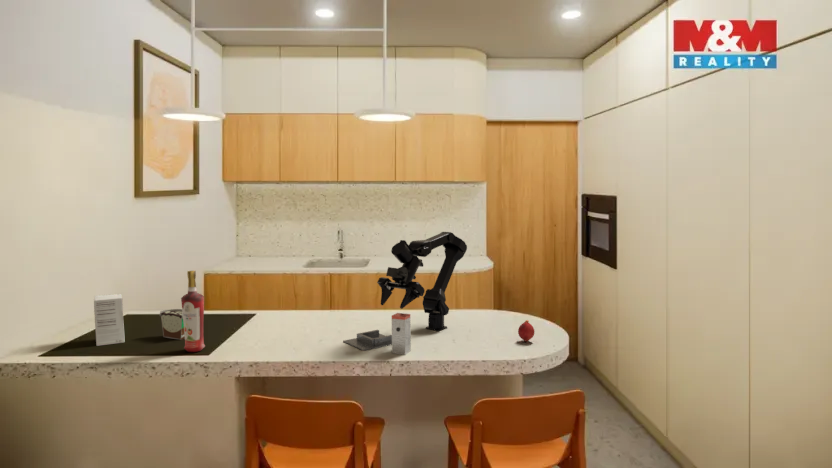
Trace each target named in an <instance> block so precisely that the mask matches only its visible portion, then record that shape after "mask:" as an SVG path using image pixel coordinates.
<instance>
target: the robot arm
mask: <svg viewBox="0 0 832 468" xmlns="http://www.w3.org/2000/svg"><path fill="white" fill-rule="evenodd" d="M467 245H468V244H467V243H466V242H465V240H463V239H462V238H460V237H458V236H457V235H455V234H454V233H453V232H451V231H441V232H440V233H438V234H435V235H433V236H431V237H428V238H426V239H421V240H419V239H418V240H417V239H416V240H411V242H410V243H409V244H408V242H407V241H406V240H405V239H401V240H400V241H399V242H397V243H396V244H394V245H393V246H392V247H391V250H390V252H391V254H392V256H394V257H395V258H396V259H397V261H398V262H400V263H401V264H402V265H401V266H400V267H390V266H388V267H387V271H386V277H379V278H378V280H377V282H376V284H378V286H379V287H380V288H381V295H380V296H381V297H380V305H381V306H384V305H385V303H386V302H387V301H388V300H389V298H390V297H391V295H392V294H393V291H394V290H395V289H401V290H405V294H404V296H403V299H402V300H401V303H400V305H399V308H400V310H402V309H404V308H405V307H406V306H408V305H409V304H410V303H412V302H413V301H415V300H416V299H418V298H420V297H422V298H423V299H422V306H423V310H424V313H425V314H428V320H427V321H428V326H426V327H425V329H427V330H432V331H436V332H439V331H442V330H445V329H448V326H445V316H447V315H448V314H449V312H450V308H449V306H448V305H447V304H446V301H447V299H446V293H445V292H446V290H447V287H448V285H449V282H450V281H451V278H452V275H453V273H454V271H455V267H456V265H457V263H458V262H459V261H460V260H461V259H463V257H464V256H465V254H466V252H467V249H468V246H467ZM441 246H442V247H443V248H444V254H445V259H444V261H443V263H442V265H441V267H440V269H439V273H438V274H437V278H436V280H435V282H434V285H433V287H432V288H431V289H430V288H427V289H426V291H425V288H424V287H423V286H422V284H421V283H420V282H419V281H418V282H417V281H413V280H416V278H417V277H416V273H417V272H418V269H419V267H424V262H423V260H422V259H420V258H421V257H423V258H426V257H427V256H429V255H430V254H431V253H432V250H434V249H436V248H438V247H439V248H440V247H441ZM419 257H420V258H419ZM389 277H391V278H389Z"/></svg>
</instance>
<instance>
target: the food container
mask: <svg viewBox="0 0 832 468" xmlns="http://www.w3.org/2000/svg"><path fill="white" fill-rule="evenodd" d="M159 317H160V318H161V319H160V320H161V329H162V337H163V338H167V339H174V340H181V341H182V340H185V334H184V322H183V314H182V308H181V309H180V308H173V309H172V308H171V309H164V310H163V309H162V310H160V312H159Z"/></svg>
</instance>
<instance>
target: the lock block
mask: <svg viewBox="0 0 832 468" xmlns="http://www.w3.org/2000/svg"><path fill="white" fill-rule="evenodd" d="M391 335H392V345H391V354H398V355H405V356H406V355H407V354H408V353H410V352H411V350H412V349H411V345H412V343H411V339H412V338H411V337H412V336H411V314H410V313H404V312H403V313H400V312H396V313H395V314H392V315H391Z"/></svg>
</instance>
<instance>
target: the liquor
mask: <svg viewBox="0 0 832 468" xmlns="http://www.w3.org/2000/svg"><path fill="white" fill-rule="evenodd" d="M186 274H187V280H188V281H187V293H186V294H184V295H183V296H182V297H181V298H180V299H181V309H182V314H183V322H184V334H185V338H184V347H183V349H184V350H185V351H186V352H188V353H197V352H198V353H199V352H201V351H202V350H203V349H204V348H205V347H206V345H205V341H204V339H205V337H204V316H205V315H204V314H205V307H204V306H205V304H204V303H205V296H204V295H202V293H199V292H198V291H197V289H198V288H197V283H196V277H197V273H196V270H187V273H186Z"/></svg>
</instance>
